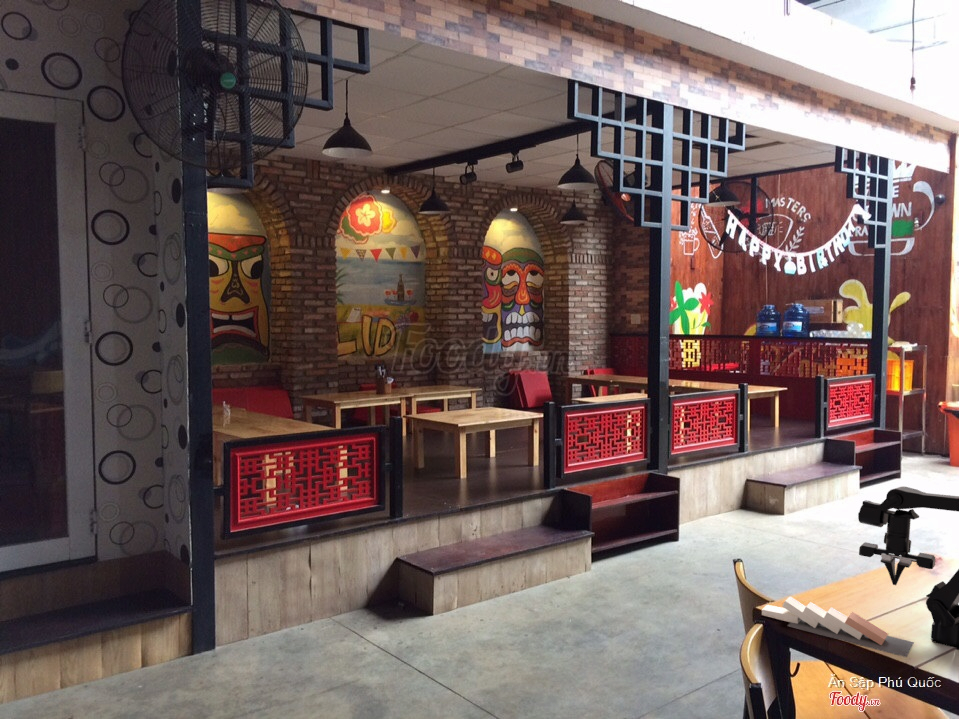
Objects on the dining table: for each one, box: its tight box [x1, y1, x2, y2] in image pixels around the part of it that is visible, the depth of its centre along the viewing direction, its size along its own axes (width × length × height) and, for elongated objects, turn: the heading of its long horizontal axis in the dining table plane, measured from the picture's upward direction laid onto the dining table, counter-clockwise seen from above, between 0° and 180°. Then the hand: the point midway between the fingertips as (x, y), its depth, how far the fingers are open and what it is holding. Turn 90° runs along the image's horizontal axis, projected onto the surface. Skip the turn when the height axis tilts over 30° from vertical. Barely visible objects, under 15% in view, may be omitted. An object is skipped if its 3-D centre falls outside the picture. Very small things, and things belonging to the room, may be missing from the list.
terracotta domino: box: [845, 611, 889, 645], centre depth 213 cm, size 2×5×10 cm
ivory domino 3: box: [803, 601, 841, 634], centre depth 220 cm, size 2×5×10 cm
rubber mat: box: [787, 619, 915, 658], centre depth 216 cm, size 30×12×1 cm, turn 53°
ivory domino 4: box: [824, 606, 863, 640], centre depth 217 cm, size 2×5×10 cm
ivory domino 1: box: [761, 604, 801, 624], centre depth 227 cm, size 2×5×10 cm
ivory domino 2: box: [781, 595, 819, 628], centre depth 224 cm, size 2×5×10 cm
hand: (894, 584), depth 223 cm, fingers closed
